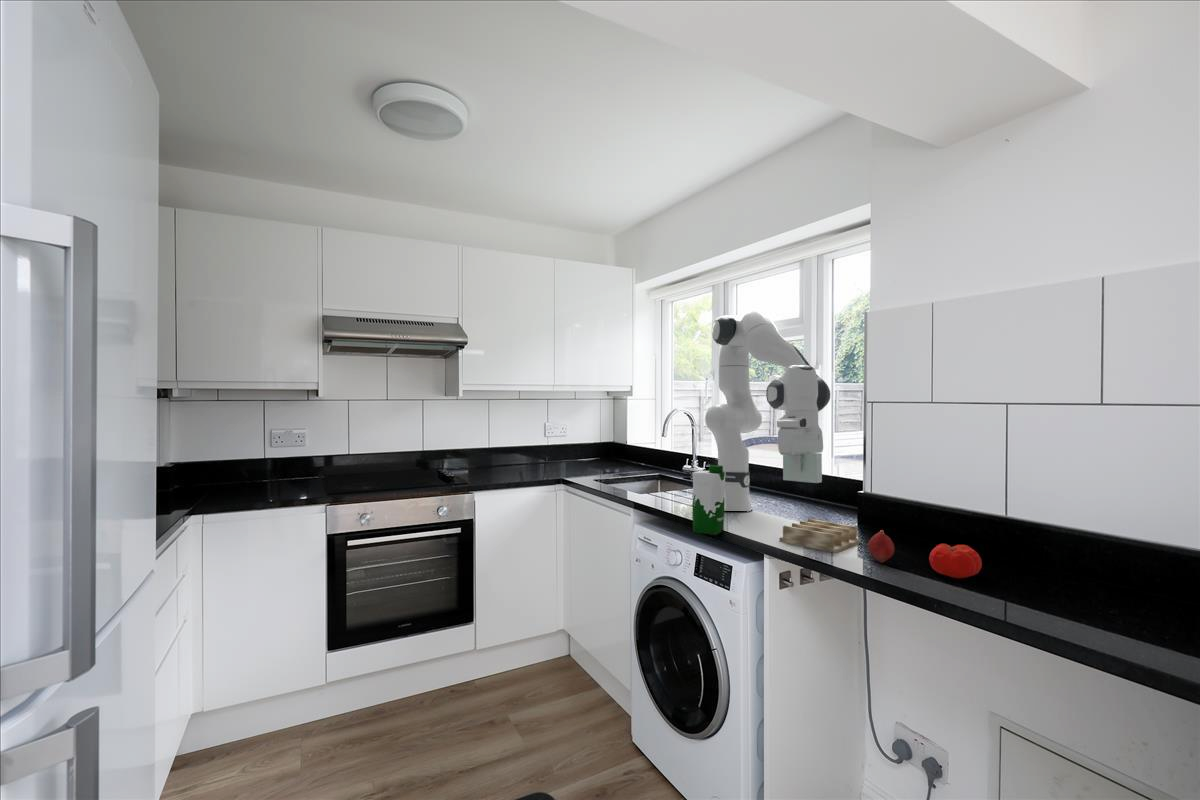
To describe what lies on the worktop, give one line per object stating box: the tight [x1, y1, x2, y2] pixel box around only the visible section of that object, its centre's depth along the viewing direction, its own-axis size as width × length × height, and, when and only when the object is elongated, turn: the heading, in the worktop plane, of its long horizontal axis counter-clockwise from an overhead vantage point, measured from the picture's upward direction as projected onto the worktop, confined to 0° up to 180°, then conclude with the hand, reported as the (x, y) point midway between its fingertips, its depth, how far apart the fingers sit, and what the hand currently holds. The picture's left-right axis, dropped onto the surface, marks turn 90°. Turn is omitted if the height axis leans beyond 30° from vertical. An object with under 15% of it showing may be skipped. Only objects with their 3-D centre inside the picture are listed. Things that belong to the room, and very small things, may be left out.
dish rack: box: [778, 518, 861, 554], centre depth 153 cm, size 16×16×4 cm
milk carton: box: [692, 464, 726, 536], centre depth 164 cm, size 9×9×20 cm
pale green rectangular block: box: [782, 452, 823, 484], centre depth 154 cm, size 10×3×8 cm, turn 43°
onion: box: [867, 529, 895, 564], centre depth 134 cm, size 6×6×8 cm
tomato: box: [928, 543, 983, 579], centre depth 125 cm, size 10×11×6 cm
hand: (802, 470), depth 154 cm, fingers closed on pale green rectangular block, 3 cm apart
